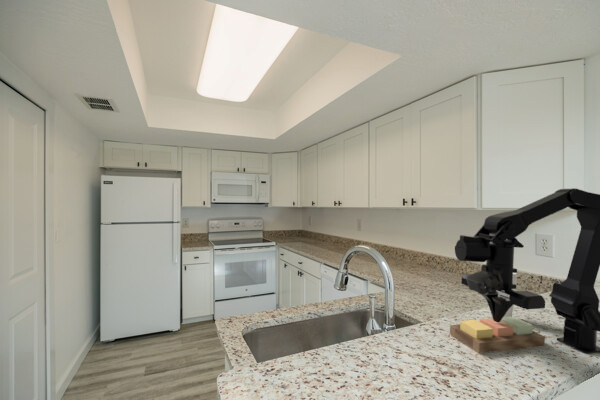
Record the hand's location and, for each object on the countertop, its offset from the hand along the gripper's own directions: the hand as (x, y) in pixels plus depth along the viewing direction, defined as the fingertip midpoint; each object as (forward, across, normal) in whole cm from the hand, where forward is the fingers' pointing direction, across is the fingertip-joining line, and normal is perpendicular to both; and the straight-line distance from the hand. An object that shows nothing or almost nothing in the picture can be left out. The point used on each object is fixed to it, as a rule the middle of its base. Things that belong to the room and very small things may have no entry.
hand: (496, 321), depth 70 cm
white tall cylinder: (+5, -11, +15) cm, 19 cm away
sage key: (+3, 0, +7) cm, 7 cm away
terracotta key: (+3, 0, 0) cm, 3 cm away
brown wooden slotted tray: (+5, 0, 0) cm, 5 cm away
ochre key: (+3, 0, -6) cm, 7 cm away
